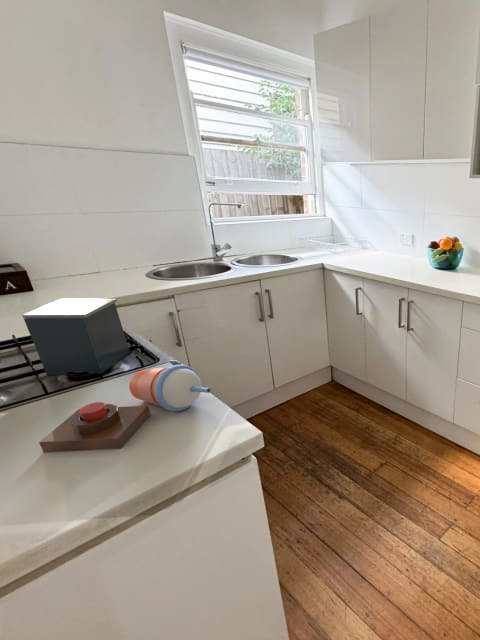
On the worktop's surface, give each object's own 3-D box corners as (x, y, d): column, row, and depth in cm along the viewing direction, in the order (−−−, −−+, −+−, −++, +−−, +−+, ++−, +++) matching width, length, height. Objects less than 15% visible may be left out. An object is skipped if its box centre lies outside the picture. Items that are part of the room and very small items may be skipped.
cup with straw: (129, 357, 76) (195, 361, 69) (171, 368, 84) (233, 372, 77) (113, 402, 73) (180, 411, 67) (157, 409, 81) (221, 417, 75)
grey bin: (130, 352, 99) (114, 301, 93) (102, 373, 88) (82, 317, 83) (81, 353, 97) (62, 302, 92) (46, 375, 87) (23, 318, 81)
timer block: (43, 452, 63) (34, 433, 62) (83, 418, 72) (76, 400, 71) (121, 448, 65) (114, 429, 63) (151, 415, 74) (145, 397, 72)
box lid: (117, 301, 93) (116, 298, 93) (85, 317, 83) (84, 314, 82) (62, 301, 92) (61, 298, 91) (23, 318, 81) (21, 314, 81)
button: (77, 422, 65) (73, 413, 65) (90, 410, 69) (87, 402, 68) (99, 421, 66) (96, 412, 65) (112, 409, 69) (109, 401, 68)
